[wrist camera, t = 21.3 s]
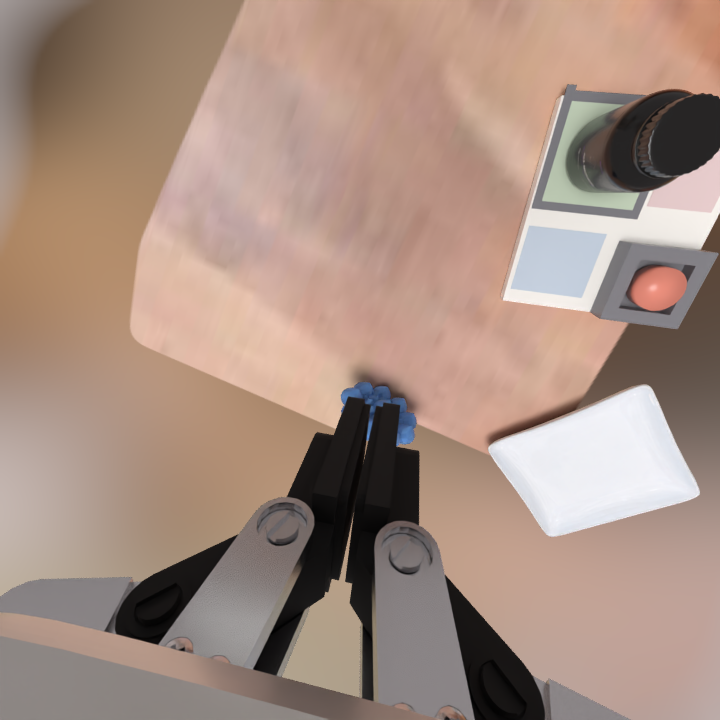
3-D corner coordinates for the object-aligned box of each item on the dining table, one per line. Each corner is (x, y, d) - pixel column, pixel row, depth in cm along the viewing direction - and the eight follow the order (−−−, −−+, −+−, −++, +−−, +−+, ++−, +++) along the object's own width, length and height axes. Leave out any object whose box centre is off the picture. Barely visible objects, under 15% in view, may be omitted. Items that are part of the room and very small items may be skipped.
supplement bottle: (549, 174, 35) (606, 163, 24) (598, 99, 32) (688, 48, 21) (606, 206, 35) (687, 208, 24) (660, 134, 32) (780, 101, 21)
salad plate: (543, 523, 57) (550, 541, 54) (481, 434, 52) (485, 449, 49) (688, 479, 49) (705, 498, 46) (633, 368, 44) (649, 381, 41)
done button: (637, 262, 36) (648, 265, 34) (682, 267, 35) (695, 271, 34) (618, 302, 38) (628, 307, 36) (661, 308, 37) (673, 313, 35)
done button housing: (619, 240, 36) (632, 243, 34) (700, 249, 36) (718, 253, 33) (589, 311, 40) (599, 318, 38) (662, 321, 39) (677, 329, 37)
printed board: (559, 89, 33) (565, 84, 32) (763, 103, 31) (779, 98, 30) (500, 297, 42) (502, 300, 41) (654, 317, 40) (663, 322, 39)
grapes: (336, 389, 52) (314, 439, 41) (359, 357, 49) (342, 402, 38) (399, 429, 53) (393, 487, 43) (425, 400, 50) (426, 454, 40)
